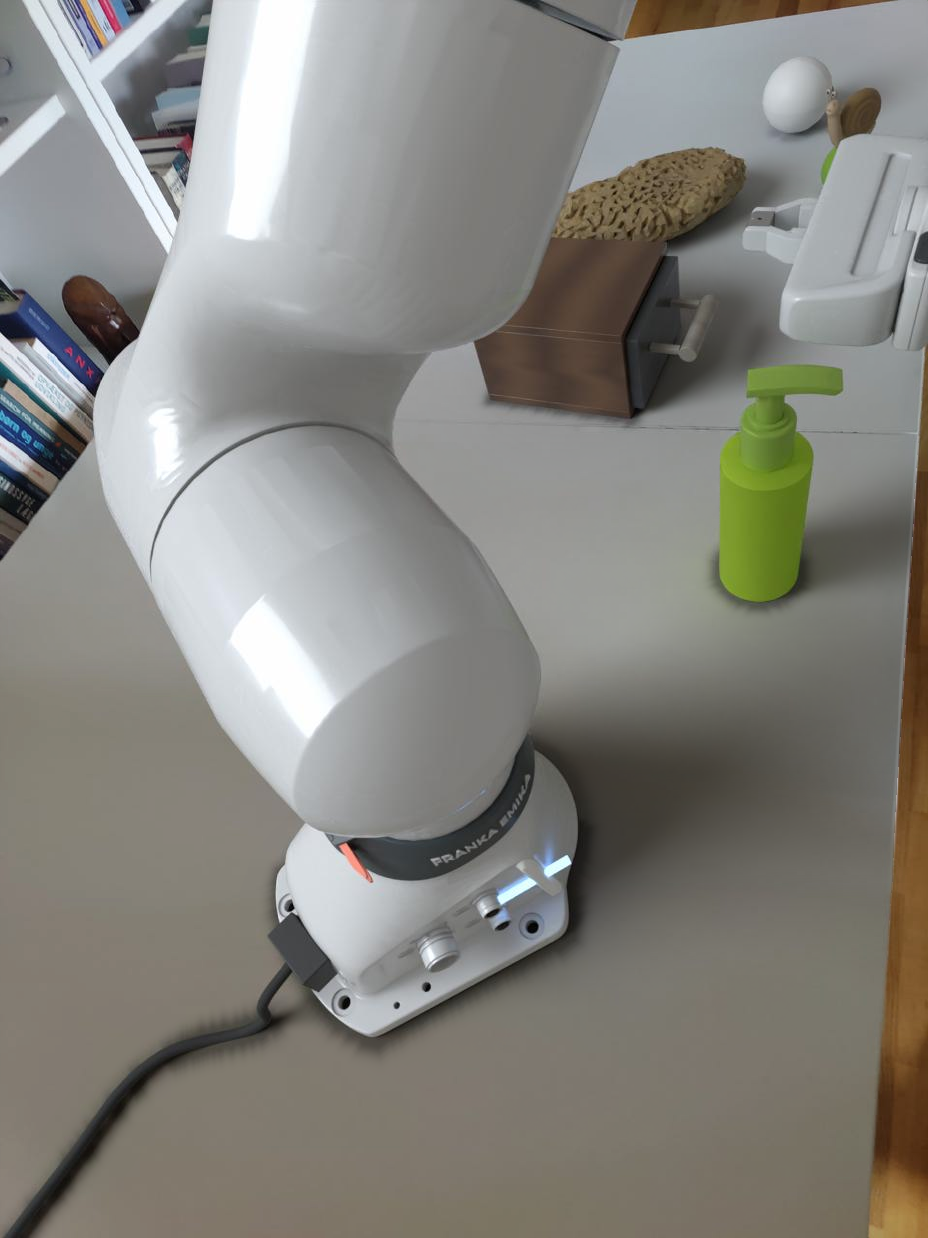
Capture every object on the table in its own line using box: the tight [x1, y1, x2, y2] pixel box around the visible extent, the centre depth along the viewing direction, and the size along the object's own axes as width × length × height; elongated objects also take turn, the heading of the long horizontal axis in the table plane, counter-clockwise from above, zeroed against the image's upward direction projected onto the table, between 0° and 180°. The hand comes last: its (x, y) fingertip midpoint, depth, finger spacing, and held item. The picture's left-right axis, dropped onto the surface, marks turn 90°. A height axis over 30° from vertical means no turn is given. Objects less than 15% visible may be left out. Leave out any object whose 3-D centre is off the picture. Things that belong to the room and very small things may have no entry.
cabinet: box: [472, 237, 668, 420], centre depth 81 cm, size 15×13×10 cm
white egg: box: [762, 55, 835, 134], centre depth 95 cm, size 10×7×7 cm
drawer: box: [625, 255, 720, 409], centre depth 79 cm, size 18×11×8 cm, turn 65°
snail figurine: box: [820, 87, 882, 186], centre depth 84 cm, size 5×6×12 cm
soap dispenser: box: [718, 364, 844, 603], centre depth 59 cm, size 6×7×20 cm
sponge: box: [552, 146, 747, 242], centre depth 91 cm, size 13×8×20 cm
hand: (747, 228), depth 66 cm, fingers closed
